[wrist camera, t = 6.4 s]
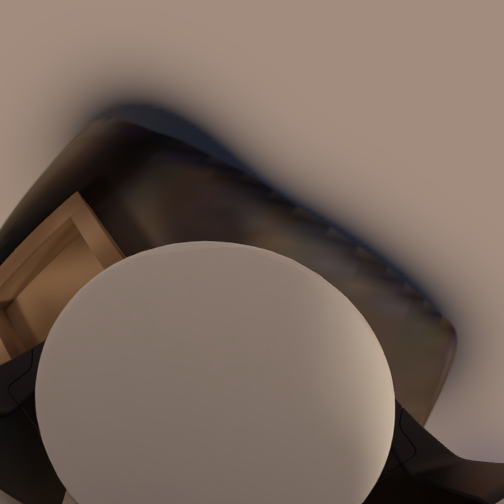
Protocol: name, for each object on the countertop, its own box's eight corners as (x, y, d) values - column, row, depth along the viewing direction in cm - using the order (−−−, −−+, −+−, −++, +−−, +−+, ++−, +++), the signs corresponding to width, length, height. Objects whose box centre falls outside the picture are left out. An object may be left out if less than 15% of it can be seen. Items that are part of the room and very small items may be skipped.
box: (192, 339, 21) (187, 338, 18) (76, 437, 17) (55, 449, 14) (93, 211, 23) (77, 191, 20) (-4, 307, 19) (-28, 300, 16)
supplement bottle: (178, 289, 16) (71, 131, 4) (294, 319, 16) (468, 236, 4) (148, 403, 14) (-12, 503, 2) (266, 433, 14) (367, 595, 2)
